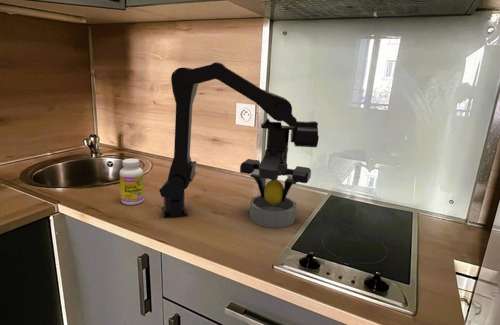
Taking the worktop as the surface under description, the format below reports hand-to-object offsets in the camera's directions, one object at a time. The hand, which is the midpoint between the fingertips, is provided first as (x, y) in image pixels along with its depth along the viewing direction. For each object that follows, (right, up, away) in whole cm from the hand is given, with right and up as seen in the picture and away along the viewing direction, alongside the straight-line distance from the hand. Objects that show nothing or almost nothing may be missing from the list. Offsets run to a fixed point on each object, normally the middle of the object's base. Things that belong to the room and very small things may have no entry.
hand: (273, 199), depth 90 cm
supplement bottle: (-42, -2, +8) cm, 43 cm away
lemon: (0, -2, +1) cm, 2 cm away
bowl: (0, -5, +1) cm, 5 cm away
